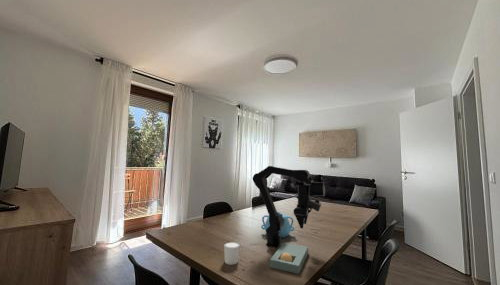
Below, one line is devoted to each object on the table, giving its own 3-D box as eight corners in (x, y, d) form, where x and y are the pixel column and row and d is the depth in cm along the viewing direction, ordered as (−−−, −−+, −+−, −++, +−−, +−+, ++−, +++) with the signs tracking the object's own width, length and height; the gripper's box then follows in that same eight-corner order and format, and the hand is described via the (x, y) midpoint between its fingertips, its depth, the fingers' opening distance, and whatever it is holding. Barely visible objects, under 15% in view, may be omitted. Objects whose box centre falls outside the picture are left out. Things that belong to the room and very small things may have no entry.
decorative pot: (279, 229, 141) (279, 208, 143) (296, 236, 128) (296, 213, 129) (259, 233, 132) (259, 210, 134) (275, 241, 119) (275, 215, 120)
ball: (281, 249, 92) (283, 256, 94) (278, 260, 88) (279, 266, 90) (292, 252, 89) (294, 259, 92) (289, 263, 86) (291, 270, 88)
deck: (269, 267, 88) (269, 259, 88) (283, 248, 108) (283, 242, 108) (298, 273, 83) (298, 265, 83) (307, 253, 103) (308, 246, 103)
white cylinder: (239, 258, 96) (239, 242, 96) (239, 265, 89) (239, 247, 90) (224, 258, 95) (224, 241, 96) (222, 265, 89) (223, 247, 89)
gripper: (317, 198, 97) (317, 233, 95) (321, 193, 114) (322, 223, 112) (293, 196, 102) (293, 230, 100) (300, 192, 118) (300, 221, 117)
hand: (303, 226), depth 107 cm, fingers open, 9 cm apart
